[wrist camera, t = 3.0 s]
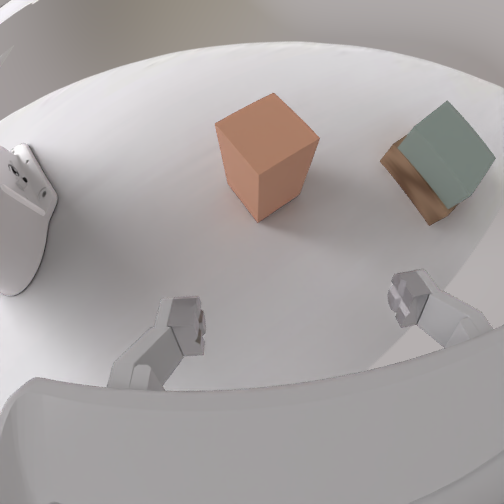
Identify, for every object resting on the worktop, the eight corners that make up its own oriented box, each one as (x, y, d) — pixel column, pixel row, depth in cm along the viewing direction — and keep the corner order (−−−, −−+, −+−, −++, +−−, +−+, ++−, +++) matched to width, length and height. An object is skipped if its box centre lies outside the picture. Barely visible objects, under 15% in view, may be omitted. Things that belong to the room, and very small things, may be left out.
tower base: (379, 161, 28) (393, 143, 24) (420, 133, 29) (434, 116, 25) (428, 226, 27) (448, 215, 23) (463, 188, 28) (481, 176, 24)
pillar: (227, 183, 28) (214, 123, 18) (268, 158, 28) (273, 92, 18) (257, 223, 27) (258, 175, 17) (299, 194, 27) (319, 138, 17)
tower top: (397, 148, 24) (413, 126, 20) (431, 119, 25) (447, 100, 21) (447, 209, 23) (470, 195, 19) (476, 172, 24) (495, 158, 20)
